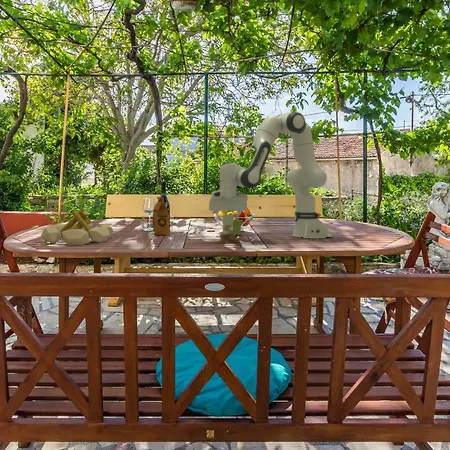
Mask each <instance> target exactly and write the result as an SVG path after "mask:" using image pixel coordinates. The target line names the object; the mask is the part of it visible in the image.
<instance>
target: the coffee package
mask: <svg viewBox="0 0 450 450" xmlns="http://www.w3.org/2000/svg"><path fill="white" fill-rule="evenodd" d="M156 199H157V202H156V204H155V205H154V206H153V209H152V229H153V233H154V234H155V235H156V236H169V235H170V232H171V223H170V222H171V221H170V215H169V211H168V207H167V206H166V203H165V200H164V197H162V196H157V198H156Z"/></svg>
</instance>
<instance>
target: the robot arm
mask: <svg viewBox="0 0 450 450" xmlns="http://www.w3.org/2000/svg"><path fill="white" fill-rule="evenodd" d="M289 134H290V136H291V138H292V147H293V158H294V160H295V161H296V162H297V163H298V164H299V165H300V166H301V168H294V169H291V170H290V171H289V172H288V173H287V176H286V180H287V183H288V185H289V186H290V187H291V189H292V190H293V193H294V197H295V198H294V199H295V211H294V227H293V231H292V234H291V236H292V237H296V238H301V237H303V238H302V239H308V238H310V239H327V238H326V237H333V235H332V234H330V233H329V229H328V226H327V225H326V223H324V222H323V221H321V219H319V218H320V217H321V216H322V214H321V213H319V212H316V198H315V196H314V195H313V194H312V192H311V191H310V189H316V188H321V187H324V186H325V185H326V182H327V180H328V177H327V173H326V171H325V170H324V169H323V168H321V167H320V165H319V163H318V161H317V158H316V155H315V150H314V149H315V148H314V141H313V140H314V139H313V134H312V129H311V126H309V124H307V123H306V118H305V117H304V115H303V113H301V112H298V111H293V112H291V111H290V112H285V113H283V114H278V115H277V116H276V115H274V114H270V115H267V116H266V117H265V118H264V119H263V121H261V123H260V125H259V126H258V128H257V130H256V132H255V134H254V136H253V139H252V144H253V146H254V148H256V152H255V155H254V158H253V160H252V161H251V164H250V166H248V167H247V168H244V167H243V166H240V165H239V164H237V163H236V162H235V161H228V162H224V163H222V164H220V165H221V166H220V170H219V183H220V184H219V189H218V190H215V191H212V192H211V193H210V194H211V196H210V199H209V202H208V210H209V211H211V212H215V214H216V216H217V217H216V218H217V220H221V215H219V212H220V211H221V212H237V215H234V216H235V219H234V220H239V216H240V215H241V212H246V211H247V210H248V204H247V203H248V200H249V198H248V194H247V193H245V192H243V193H240V192H237V187H242V188H247V189H254V188H255V189H256V187H258V186H259V185H260V183H261V179H262V173H263V170H264V168H265V165H266V162H267V160H268V158H269V156H270V153H271V150H272V147H273V146H274V144H275V142H276V140H277V138H278V136H279V135H289Z"/></svg>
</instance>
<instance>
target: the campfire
mask: <svg viewBox="0 0 450 450" xmlns="http://www.w3.org/2000/svg"><path fill="white" fill-rule="evenodd" d="M71 214H72V216H73V217H72V218H71V219H70V220H69V221H68V222H67V223H66V224H54V225H50V227H45V228H43V229H42V232H41V235H40V236H41V239H42V240H43V241H44V243H46V242H50V243H55V242H58V243H59V241H60V240H61V239H60V238H63V239H62V240H63V242H64V243H65V244H66V245H67V246H84V245H86V244H89V243H90V242H92V243H95V244H96V243H97V244H101V243H104V242H107V241H108V240H109V239H111V237H112V235H113V233H114V230H113V227H112V226H111V225H110V224H108V223H105V224H104V223H103V224H98V225H97V226H96V227H93V224H92V220H91V219H90V218H87V217H88V216H89V212H88V211H87V210H86V209H85V208H84V207H82V208H80V210H79V211H77V210H76V209H74V210H71ZM108 238H109V239H108ZM59 239H60V240H59ZM90 240H91V241H90ZM55 244H56V243H55Z"/></svg>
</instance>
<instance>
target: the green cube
mask: <svg viewBox="0 0 450 450" xmlns="http://www.w3.org/2000/svg"><path fill="white" fill-rule="evenodd" d="M233 220H234V214H231V213H229V214H222V226H223V225H233Z"/></svg>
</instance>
